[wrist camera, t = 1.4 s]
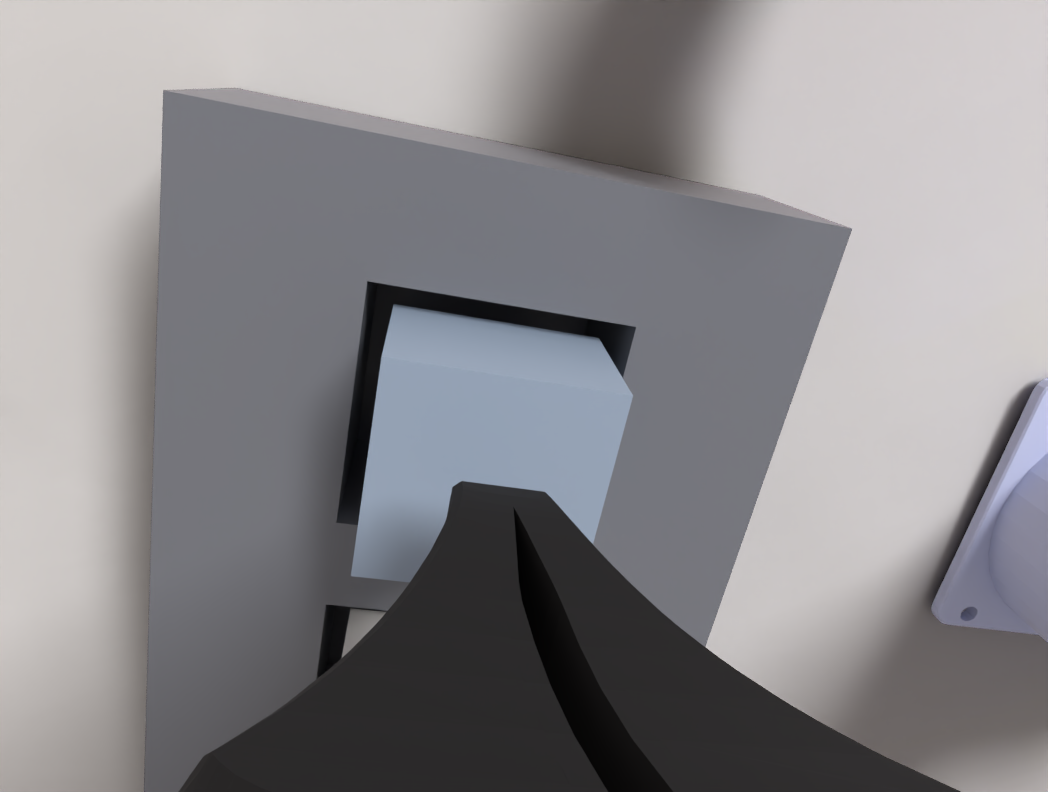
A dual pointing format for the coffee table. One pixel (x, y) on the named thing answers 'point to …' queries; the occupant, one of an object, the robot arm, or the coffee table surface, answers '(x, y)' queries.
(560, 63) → the coffee table surface
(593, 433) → the blue key
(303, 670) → the key housing
